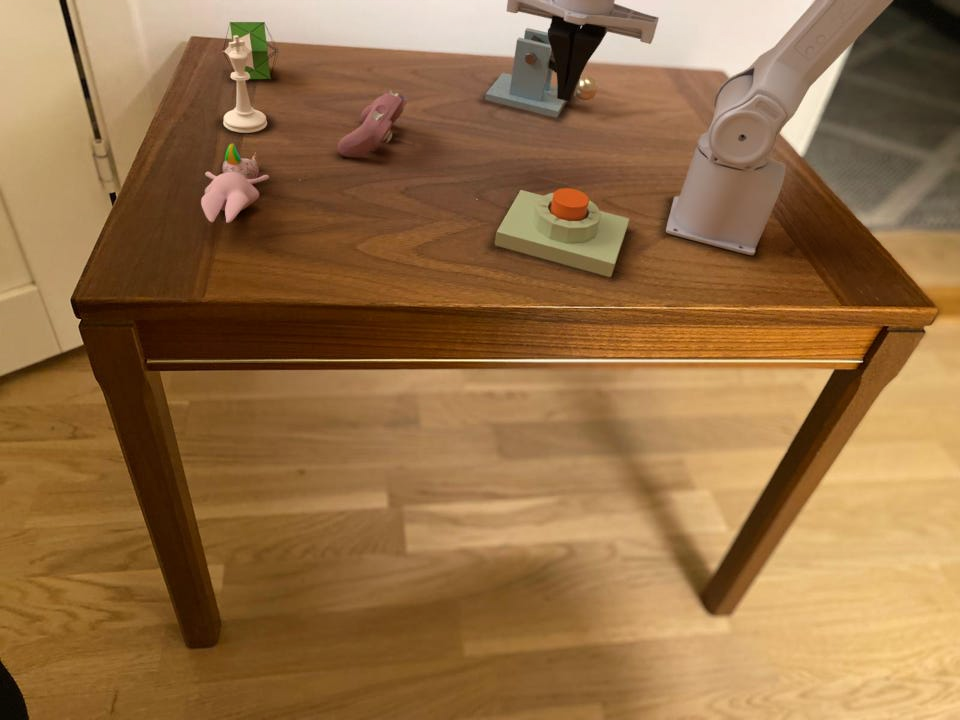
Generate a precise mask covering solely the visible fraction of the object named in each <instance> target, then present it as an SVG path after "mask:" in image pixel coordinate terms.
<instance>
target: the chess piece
mask: <svg viewBox="0 0 960 720" xmlns="http://www.w3.org/2000/svg"><path fill="white" fill-rule="evenodd" d="M233 39H234V42H232V41H229V42H228V46H229V47H230V48H235V51H232V52H230V53H229V56H228V58H229V62H231V63H230V64H231V66H232V68H233V70H234V72H233V71H232V72H231V73H230V77H229V78H231V79H232V80H233V81H235V82H236V98H235V99H236V101H235V103H236V104H235V107H234V108H233V109H230V110H229V111H227V112H226V113H225V114H224V115H223V119H222V120H223V126H224V127H225V128H226V129H227V130H229V131H232V132H234V133H241V134H251V133H256V132H260V131H262V130H264V129H265V128H266V127H267V125H268V121H267V116H266V115H265V114H264V113H263V112H262V111H260V110H258V109H255V108H254V107H252V104H251V101H250V96H249V92H248V88H247V87H248V86H247V83H246V82H247V81H248V80H251V79H250V75H249V73H248V72H245V71H244V70H245V67H246V61H247V57H248V55H247V53H245V52H243V51H240V46H245V41H243V40H241V41H239V36H237V35H235V36H233Z"/></svg>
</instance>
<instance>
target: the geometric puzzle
mask: <svg viewBox="0 0 960 720" xmlns="http://www.w3.org/2000/svg"><path fill="white" fill-rule="evenodd" d="M228 26H229V27H228V28H227V33H226V37H225V40H224V45H223V47H222V50H221V52H222V53H223V55H224V56H225V59H226V61H227V63H228V64H229V66H230V69H231V70H232V72H235V70H234V68H233V66H232V64H231V63H230V60H228V57H229V53H230V52H232V51H235V48H230V47H229V45H228V46H227V47H226V48H225V46H226V43H227V37H228V34H229V29H230V33H231V42H234V39H233V36H235V35H237V36H239V41H241V40H243V41H245V46H240V51H243V52H245V53H247V55H248V57H247V61H246V67H245V70H244V71H245V72H248V73H249V75H250V79H249V80H272V76H273V71H274V69H275V65H276V64H275V62H273V63H272V66H273V67H272V69H271V68H270V61H269V59H270V58H272V57H274V59H273V61H276V60H277V59H278V55H279V52H280V50H279V48H278V45H276V42H275V40H274V39H273V36H272V34H271V32H270V30H269V28H268V26H267V24H266V21H229V24H228ZM266 30H267V34H268V35H269V37H270V40H271V42H272V45H271V44H270V43H268V42H267V35H266ZM268 47H269V48H270V49H272V50H273V51H272V53H270V54H269V50H268ZM227 56H228V57H227ZM270 69H271V70H270Z"/></svg>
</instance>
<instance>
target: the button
mask: <svg viewBox="0 0 960 720" xmlns="http://www.w3.org/2000/svg"><path fill="white" fill-rule="evenodd" d="M553 193H554V194H553V199H552V203H551V208H550V211H551V213H552V214H553V215H554V216H556V217H557V218H559V219H563V220H567V221H581V220H583V219H584V218H585V216H586V212H587V208H588V204H589V200H590V198H589V197H588V196H587V194H586V193H584V192H583V191H580V190H579V189H574V188H570V187H565V188H564V187H563V188H559V189H556V190H555V191H554V192H553Z"/></svg>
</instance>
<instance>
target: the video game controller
mask: <svg viewBox="0 0 960 720" xmlns="http://www.w3.org/2000/svg"><path fill="white" fill-rule="evenodd" d="M407 102H408V100H407V98H405V97H404V96H403V95H401V94H399V93H398V92H396V93H395V92H393V91H392V90H391V89H390V90H389V91H388V92H386V93H384V94H383V95H379V96H378V97H377V98H375V99H374V100H373V102H372V103H371V104H369V105H367V106H366V107H365V108H364V109H363V110H362V112H361V114H360V120H361V122H362V124H361V125H360V126H358V128H356V129H354V130H353V131H351V132H349V133H348V134H345V135H344V136H343V137H341V139H340V140H339V141H338V144H337V151H338V153H339V155H341V156H342V157H345V158H357V157H360V156H363V155H365V154H367V153H368V152H370V151H371V152H373V153H375V152H376V150H377V149H378V147H379V146H380V144H381V143H382V142H385V143H386V144H387V143H389V142H390V141H391V140H392V138H393V133H392V130H391V128H392V127H393V125H394V123H395V122H396V121H397V120H398V119H399V118H400V117H401V116H402V114H403V112H404V108H405V106H406V104H407Z"/></svg>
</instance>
